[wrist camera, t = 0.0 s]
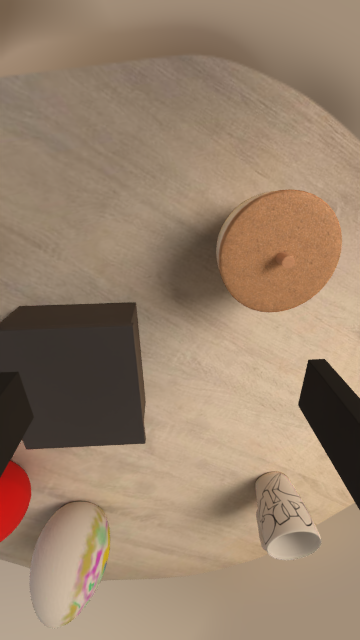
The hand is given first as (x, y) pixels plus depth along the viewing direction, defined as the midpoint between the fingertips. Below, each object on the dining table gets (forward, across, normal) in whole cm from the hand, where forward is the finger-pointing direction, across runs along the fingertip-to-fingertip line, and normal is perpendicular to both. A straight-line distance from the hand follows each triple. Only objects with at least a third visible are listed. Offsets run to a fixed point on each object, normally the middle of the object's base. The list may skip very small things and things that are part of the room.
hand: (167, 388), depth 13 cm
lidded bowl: (+22, +10, +2) cm, 24 cm away
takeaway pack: (+21, -11, -12) cm, 27 cm away
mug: (+22, +17, -42) cm, 51 cm away
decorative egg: (+22, -18, -48) cm, 55 cm away
